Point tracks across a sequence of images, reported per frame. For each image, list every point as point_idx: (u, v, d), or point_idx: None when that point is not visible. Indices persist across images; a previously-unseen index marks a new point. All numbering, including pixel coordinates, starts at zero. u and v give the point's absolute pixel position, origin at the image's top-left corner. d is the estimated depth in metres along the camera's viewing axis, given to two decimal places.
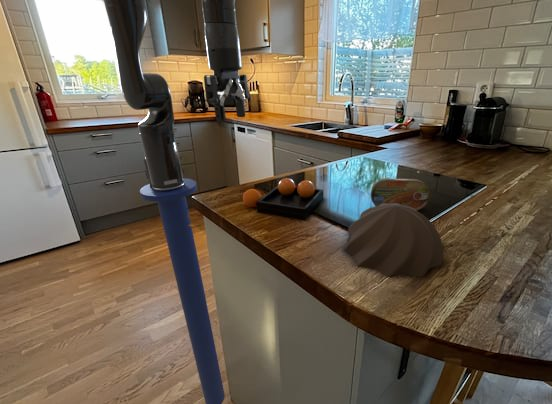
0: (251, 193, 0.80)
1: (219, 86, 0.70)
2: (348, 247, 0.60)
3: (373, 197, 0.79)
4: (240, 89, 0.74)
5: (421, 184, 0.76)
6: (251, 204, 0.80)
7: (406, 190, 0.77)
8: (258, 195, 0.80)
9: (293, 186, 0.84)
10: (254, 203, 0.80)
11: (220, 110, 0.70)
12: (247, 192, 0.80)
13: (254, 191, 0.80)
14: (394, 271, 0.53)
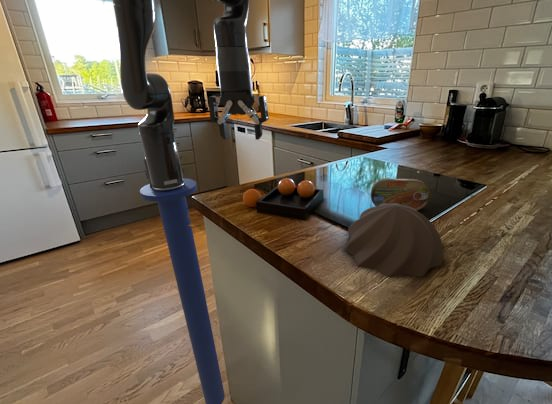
0: (251, 193, 0.80)
1: None
2: (348, 247, 0.60)
3: (373, 197, 0.79)
4: (247, 111, 0.71)
5: (421, 184, 0.76)
6: (251, 204, 0.80)
7: (406, 190, 0.77)
8: (258, 195, 0.80)
9: (293, 186, 0.84)
10: (254, 203, 0.80)
11: (220, 128, 0.75)
12: (247, 192, 0.80)
13: (254, 191, 0.80)
14: (394, 271, 0.53)
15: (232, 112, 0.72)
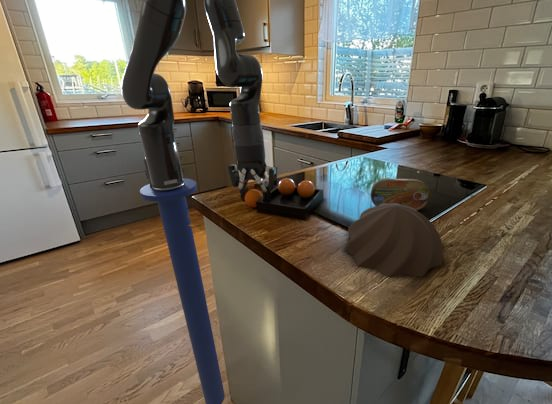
0: (254, 195, 0.79)
1: None
2: (348, 247, 0.60)
3: (373, 197, 0.79)
4: (257, 179, 0.77)
5: (421, 184, 0.76)
6: (252, 205, 0.80)
7: (406, 190, 0.77)
8: (261, 197, 0.80)
9: (293, 186, 0.84)
10: (255, 204, 0.80)
11: (241, 192, 0.82)
12: (250, 192, 0.80)
13: (257, 192, 0.80)
14: (394, 271, 0.53)
15: (247, 178, 0.79)
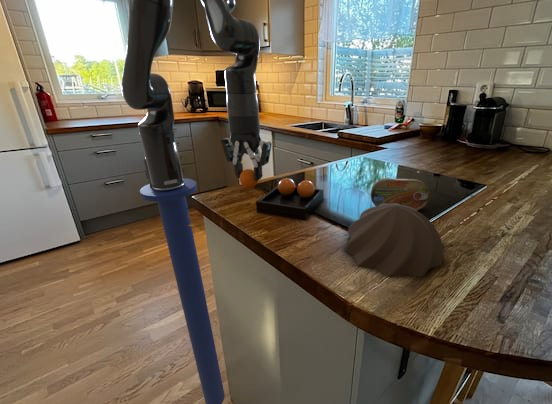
0: (252, 177, 0.77)
1: None
2: (348, 247, 0.60)
3: (373, 197, 0.79)
4: (249, 153, 0.74)
5: (421, 184, 0.76)
6: (246, 186, 0.78)
7: (406, 190, 0.77)
8: (256, 181, 0.79)
9: (293, 186, 0.84)
10: (249, 186, 0.78)
11: (235, 168, 0.79)
12: (248, 173, 0.77)
13: None
14: (394, 271, 0.53)
15: (240, 151, 0.76)
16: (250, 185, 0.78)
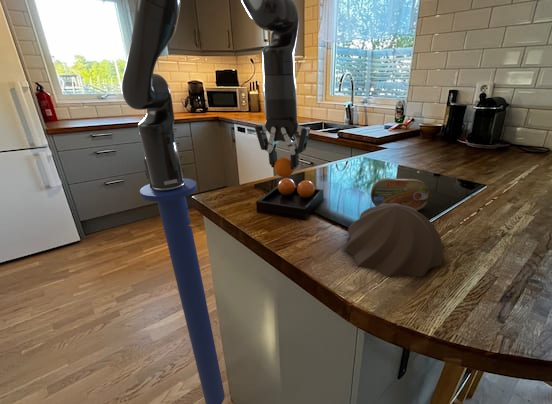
0: (288, 165, 0.73)
1: None
2: (348, 247, 0.60)
3: (373, 197, 0.79)
4: (287, 140, 0.70)
5: (421, 184, 0.76)
6: (282, 175, 0.74)
7: (406, 190, 0.77)
8: (292, 170, 0.74)
9: (293, 186, 0.84)
10: (285, 175, 0.74)
11: (269, 156, 0.75)
12: (285, 161, 0.73)
13: None
14: (394, 271, 0.53)
15: (275, 138, 0.72)
16: (286, 174, 0.74)
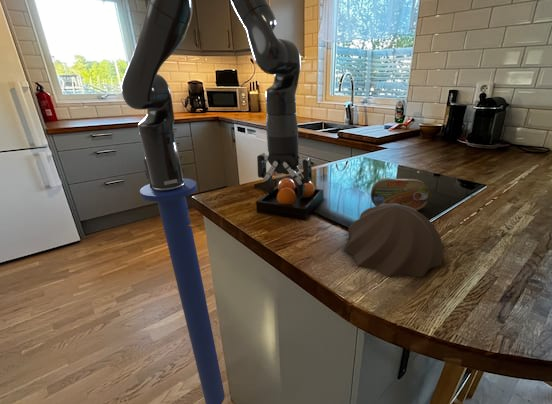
0: (290, 197, 0.76)
1: None
2: (348, 247, 0.60)
3: (373, 197, 0.79)
4: (291, 172, 0.73)
5: (421, 184, 0.76)
6: None
7: (406, 190, 0.77)
8: (294, 201, 0.78)
9: (293, 186, 0.84)
10: None
11: (266, 183, 0.78)
12: (287, 192, 0.76)
13: (294, 195, 0.77)
14: (394, 271, 0.53)
15: (277, 171, 0.75)
16: None
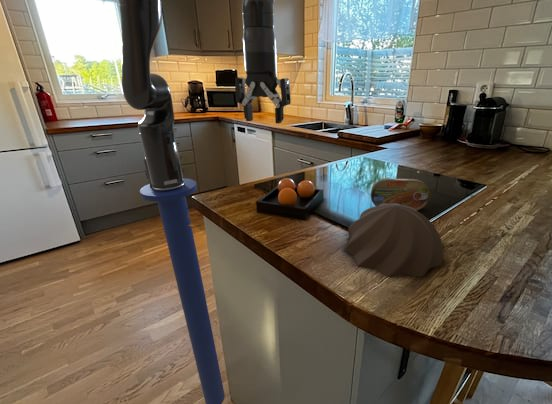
0: (292, 198, 0.76)
1: None
2: (348, 247, 0.60)
3: (373, 197, 0.79)
4: (268, 93, 0.71)
5: (421, 184, 0.76)
6: None
7: (406, 190, 0.77)
8: (295, 202, 0.78)
9: (293, 186, 0.84)
10: None
11: (244, 110, 0.76)
12: (289, 194, 0.76)
13: (295, 197, 0.77)
14: (394, 271, 0.53)
15: (255, 94, 0.73)
16: None
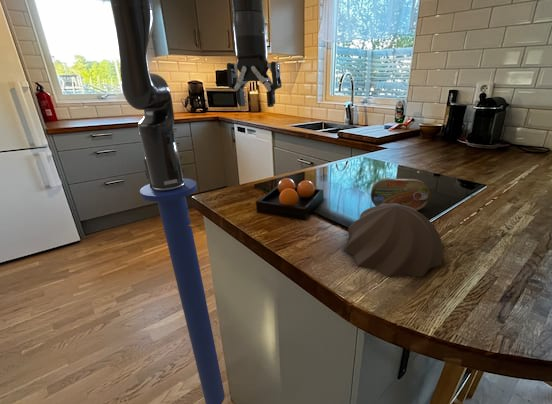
0: (293, 201, 0.76)
1: None
2: (348, 247, 0.60)
3: (373, 197, 0.79)
4: (259, 77, 0.72)
5: (421, 184, 0.76)
6: None
7: (406, 190, 0.77)
8: None
9: (293, 186, 0.84)
10: None
11: (237, 95, 0.77)
12: (291, 196, 0.75)
13: (297, 199, 0.77)
14: (394, 271, 0.53)
15: (247, 78, 0.74)
16: None
